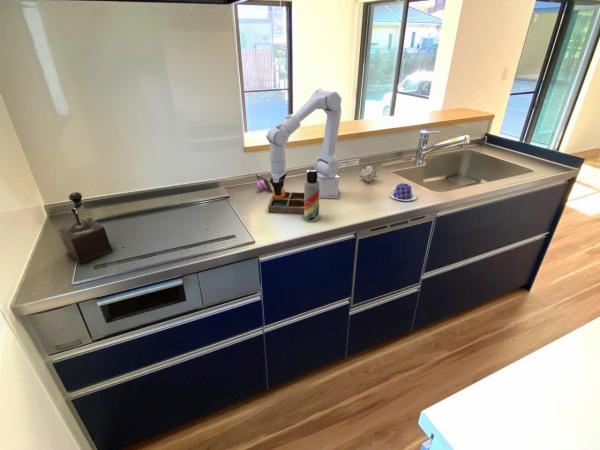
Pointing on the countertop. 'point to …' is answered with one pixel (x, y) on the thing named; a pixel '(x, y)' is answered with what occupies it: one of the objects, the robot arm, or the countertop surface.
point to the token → (281, 194)
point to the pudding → (403, 192)
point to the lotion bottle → (311, 196)
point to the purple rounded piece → (261, 184)
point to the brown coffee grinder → (84, 235)
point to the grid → (288, 203)
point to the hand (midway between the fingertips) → (279, 192)
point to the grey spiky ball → (368, 173)
